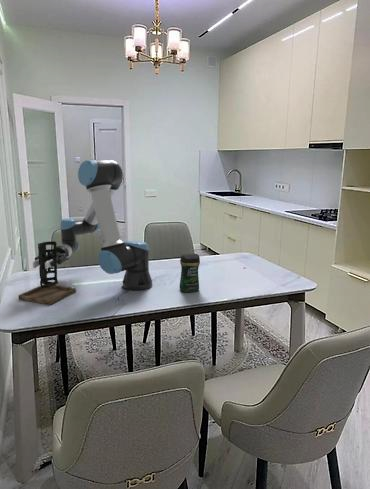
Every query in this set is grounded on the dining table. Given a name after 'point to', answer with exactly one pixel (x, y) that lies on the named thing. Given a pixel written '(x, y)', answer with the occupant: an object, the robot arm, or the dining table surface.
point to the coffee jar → (189, 272)
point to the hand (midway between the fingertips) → (39, 265)
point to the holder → (43, 260)
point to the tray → (47, 294)
